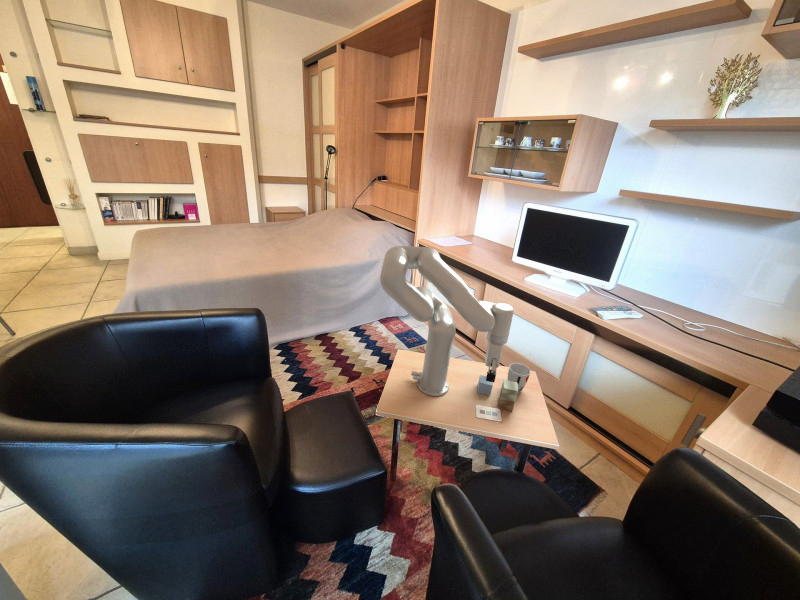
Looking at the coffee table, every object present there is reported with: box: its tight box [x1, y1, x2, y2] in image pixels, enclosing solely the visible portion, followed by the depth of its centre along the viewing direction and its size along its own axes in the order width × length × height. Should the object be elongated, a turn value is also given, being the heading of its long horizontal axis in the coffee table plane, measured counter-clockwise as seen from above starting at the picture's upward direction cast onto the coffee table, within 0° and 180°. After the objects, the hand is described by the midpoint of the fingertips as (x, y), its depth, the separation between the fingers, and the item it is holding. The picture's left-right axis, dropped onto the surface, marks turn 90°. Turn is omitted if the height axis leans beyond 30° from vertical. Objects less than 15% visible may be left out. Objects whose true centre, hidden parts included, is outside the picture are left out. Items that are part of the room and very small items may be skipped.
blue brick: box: [476, 374, 494, 396], centre depth 131 cm, size 5×5×5 cm
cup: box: [507, 362, 532, 394], centre depth 132 cm, size 8×8×10 cm
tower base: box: [497, 379, 519, 413], centre depth 122 cm, size 5×5×10 cm
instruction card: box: [475, 404, 503, 423], centre depth 120 cm, size 9×6×1 cm
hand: (490, 373), depth 129 cm, fingers open, 9 cm apart
